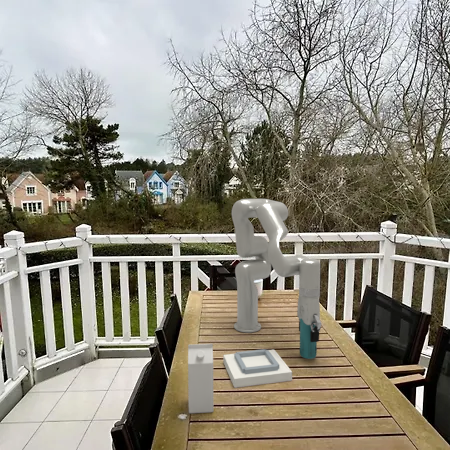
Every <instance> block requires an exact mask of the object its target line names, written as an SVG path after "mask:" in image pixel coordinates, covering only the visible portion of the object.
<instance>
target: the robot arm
mask: <svg viewBox="0 0 450 450" xmlns="http://www.w3.org/2000/svg"><path fill="white" fill-rule="evenodd" d="M288 217H289V210H288V207H287V205H286V204H285V203H283V202H282V201H276V200H272V199H267V198H242V199H240V200H237V201H236V202H234V203H233V206H232V208H231V218H232V222H233V225H234V233H235V234H234V235H235V245H236V253H237V255H238V257H240V258H242V259H243V258H244V259H245V258H254V257H255V259H249V260H243V261H241V262H239V263H238V264H236V265H235V269H234V273H235V274H234V275H235V279H236V287H237V288H236V291H237V296H236V297H237V298H236V299H237V301H236V302H237V307H236V310H237V311H236V312H237V313H236V316H237V319H236V322H235V323H234V324H233V328H234V329H235V330H236V331H237V332H241V333H256V332H259V331H260V330H261V329H262V324H261V323H260V322H259V320H258V319H259V317H258V316H259V314H258V313H259V311H258V310H259V289H258V287H257V285H256V283H255V281H259V280H264V279H266V278H269V277H270V275H271V274H272V273H271V271H272V269H273V271H274V272H275V273H276V274H277V275H278V276H279V277H281V278H288V277H292V276H298V277H299V279H298V280H299V281H298V298H297V310H296V313H297V314H296V315H297V318H298V331H299V332H300V318H301V319H302V320H303V322H304V323H305V324H306V325H310V327H311V330H312V331H310V341H311V342H317V343H319V342H320V332H321V327H322V321H321V319H320V318H321V311H320V310H321V309H320V297H321V291H320V290H321V262H320V260H318V259H316V258H309V257H307V256H305V255H301V254H300V255H299V254H298V255H290V256H289V255H288V256H285V255H284V254H283V253H282V251H281V248H280V242H281V241H282V240H283V239H285V238H286V237H287V235H288V234H289V230H288V228H287V226H286V224H285V221H286V220H287V219H288ZM249 218H257V219H258V221H259V222H260V225H261V227H262V228H263V230H264V232H265V234H266V236H267V238H268V240H267V239H266V238H265V236H262V235H255V230H254V225H253V223H252V222H251V221H250V220H249ZM312 322H315V323H312ZM313 325H316V326H315V327H314V328H313Z"/></svg>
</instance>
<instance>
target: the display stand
mask: <svg viewBox="0 0 450 450" xmlns="http://www.w3.org/2000/svg"><path fill="white" fill-rule="evenodd" d="M222 361H223V362H222V363H223V365H224V367H225V369H226V371H227V375H228V376H229V379H230V381H231V383H232V385H233V388H234V389H236V388H243V387H250V386H251V387H252V386H258V385H259V386H260V385H265V384H266V385H268V384H274V383H283V382H290V381H293V371H292V370H291V368H290V367H289V366H288V365H287V364H286V362H285V361H284V360H283V359H282V357H281V356H280V355H279V353H278V352H277V351H276V350H275V349H265V348H264V349H254V350H245V351H236V352H235V353H229V354H223V359H222Z"/></svg>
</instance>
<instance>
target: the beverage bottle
mask: <svg viewBox="0 0 450 450" xmlns="http://www.w3.org/2000/svg"><path fill="white" fill-rule="evenodd" d="M312 323H315V322H312ZM315 326H316V325H313V328H314V327H315ZM310 331H312V330H311V327H310V325H306V324H305V323H304V322H303V320H302V319H301V318H300V331H299V355H300V357H302V358H304V359H316V357H317V352H318V345H317V344H318V342H311V341H310Z"/></svg>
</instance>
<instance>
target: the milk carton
mask: <svg viewBox="0 0 450 450" xmlns="http://www.w3.org/2000/svg"><path fill="white" fill-rule="evenodd" d="M213 349H214V347H213V343H202V344H201V343H200V344H199V343H198V344H197V343H196V344H195V343H194V344H188V346H187V353H188V354H187V369H188V371H187V372H188V373H187V375H188V376H187V384H188V388H187V389H188V396H187V397H188V414H201V413H214V353H213V352H214V351H213Z"/></svg>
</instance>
